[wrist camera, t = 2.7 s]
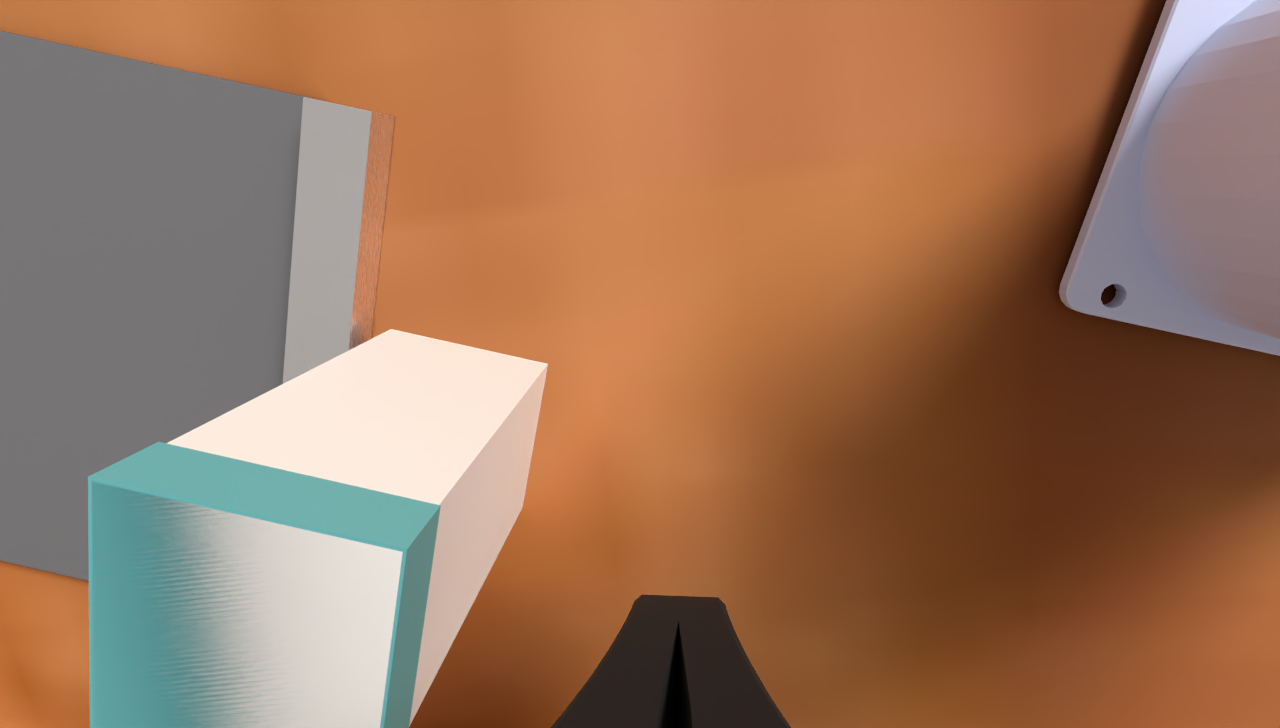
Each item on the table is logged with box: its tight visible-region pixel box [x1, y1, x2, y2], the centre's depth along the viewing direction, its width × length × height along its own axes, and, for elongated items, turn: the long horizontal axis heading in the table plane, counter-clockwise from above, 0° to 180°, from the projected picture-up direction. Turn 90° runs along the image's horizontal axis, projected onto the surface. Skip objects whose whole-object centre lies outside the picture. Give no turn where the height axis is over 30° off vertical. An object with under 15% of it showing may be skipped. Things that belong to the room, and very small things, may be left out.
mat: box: [0, 31, 323, 581], centre depth 18 cm, size 9×14×1 cm, turn 168°
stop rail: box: [283, 97, 395, 384], centre depth 17 cm, size 2×14×1 cm, turn 168°
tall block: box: [88, 329, 548, 728], centre depth 14 cm, size 4×4×9 cm
